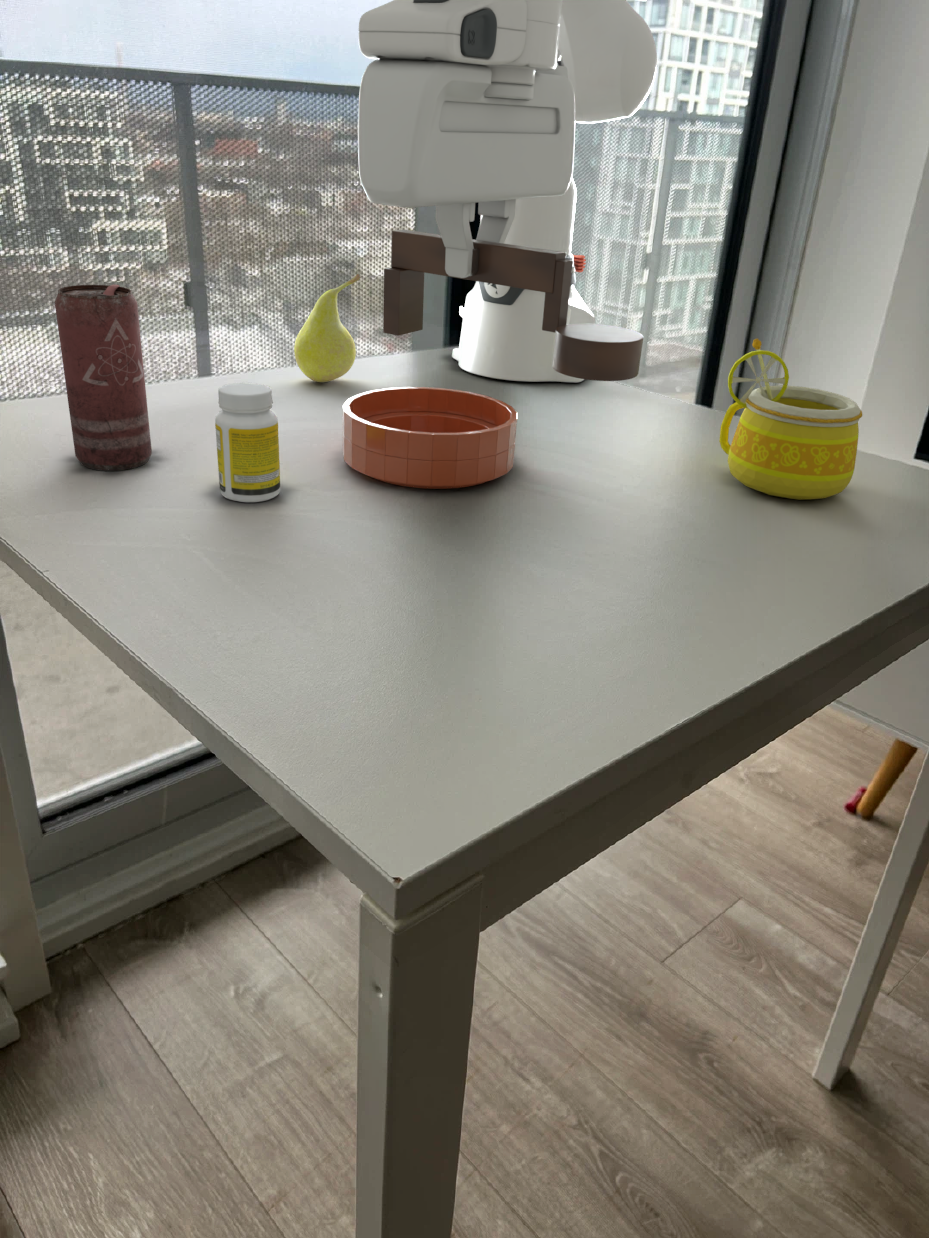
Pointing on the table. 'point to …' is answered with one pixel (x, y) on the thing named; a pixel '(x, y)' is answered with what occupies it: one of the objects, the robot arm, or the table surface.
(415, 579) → the table surface
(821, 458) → the mug
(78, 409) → the can
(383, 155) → the robot arm
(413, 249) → the brown bridge
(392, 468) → the bowl
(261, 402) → the supplement bottle
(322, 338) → the fruit
